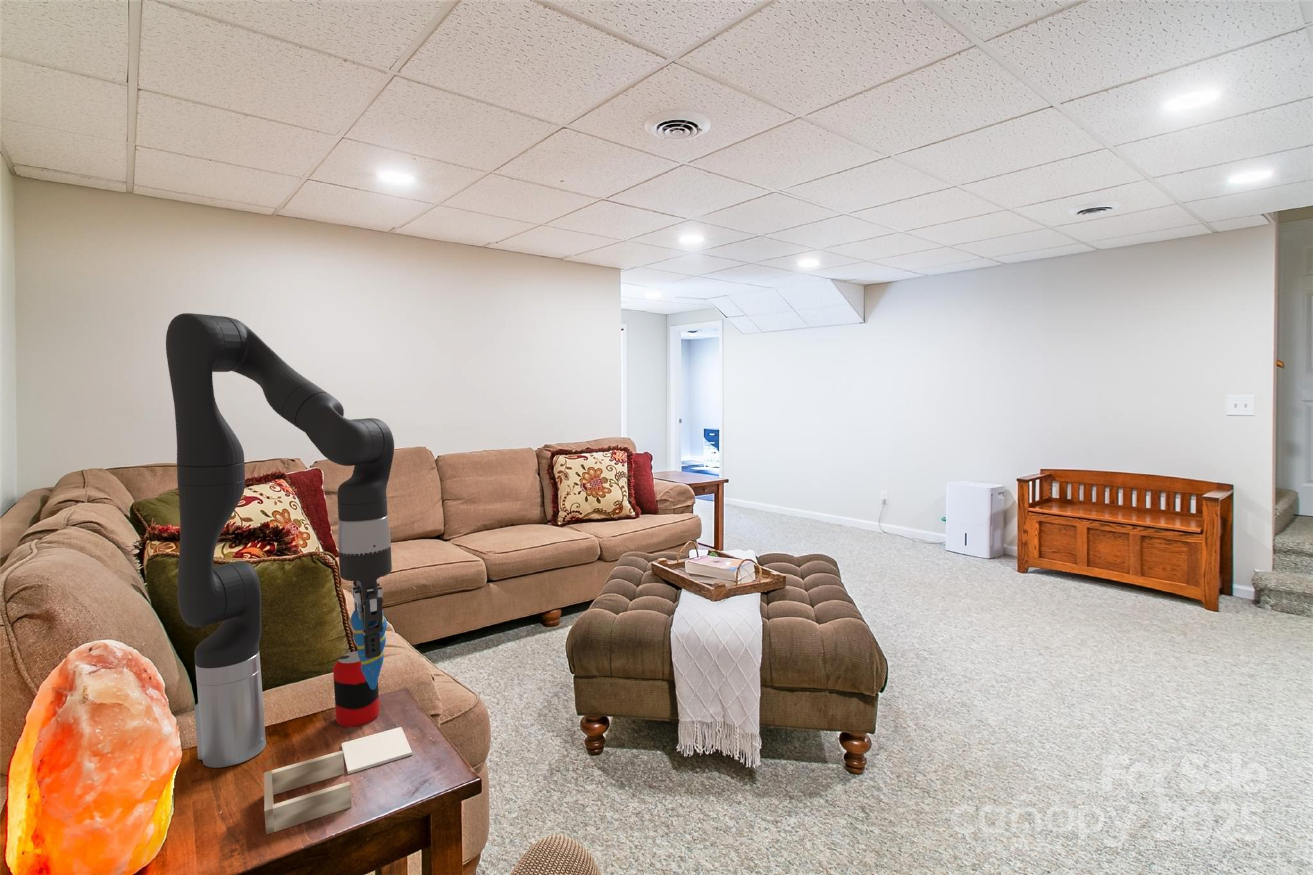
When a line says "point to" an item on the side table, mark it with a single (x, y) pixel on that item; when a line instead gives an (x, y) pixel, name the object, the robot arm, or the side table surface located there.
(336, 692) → the soda can
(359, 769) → the pad
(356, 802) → the side table surface
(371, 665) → the ornament
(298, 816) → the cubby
